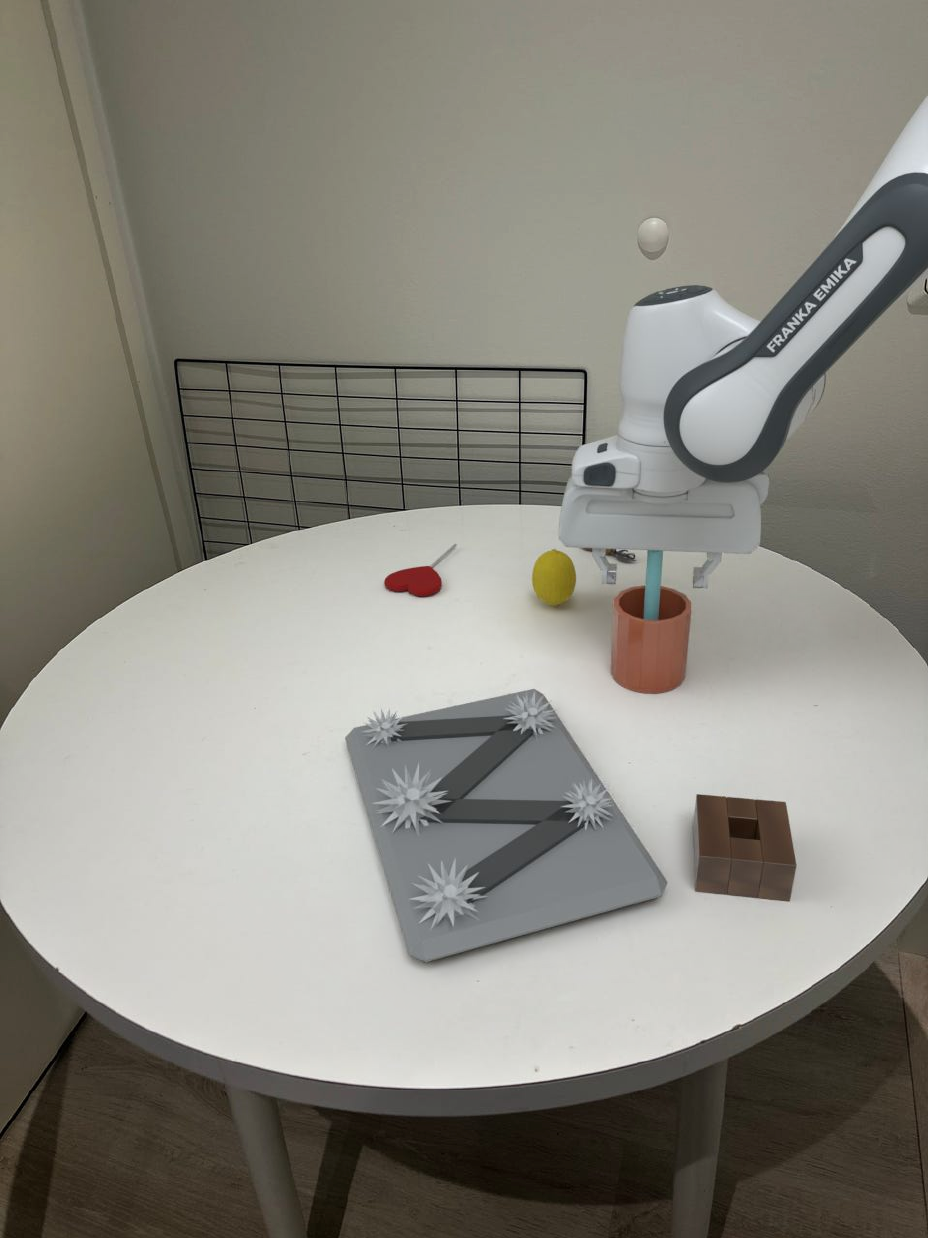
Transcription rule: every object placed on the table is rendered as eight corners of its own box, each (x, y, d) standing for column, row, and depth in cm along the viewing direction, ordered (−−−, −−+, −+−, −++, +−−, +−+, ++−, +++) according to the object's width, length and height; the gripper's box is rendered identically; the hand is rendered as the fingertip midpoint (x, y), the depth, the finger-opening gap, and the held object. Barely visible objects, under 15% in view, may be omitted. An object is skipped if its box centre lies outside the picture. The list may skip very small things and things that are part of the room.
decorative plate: (672, 904, 72) (678, 839, 69) (413, 977, 67) (405, 912, 64) (540, 700, 97) (539, 644, 94) (345, 743, 92) (336, 686, 89)
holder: (779, 836, 78) (785, 801, 76) (789, 901, 72) (796, 866, 70) (692, 828, 79) (696, 793, 77) (695, 891, 73) (699, 856, 71)
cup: (684, 655, 103) (690, 586, 99) (685, 696, 96) (692, 624, 92) (612, 650, 105) (615, 583, 100) (608, 691, 98) (611, 620, 93)
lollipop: (431, 543, 132) (378, 588, 121) (430, 537, 132) (377, 582, 120) (480, 552, 129) (431, 599, 117) (480, 546, 128) (430, 593, 117)
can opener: (578, 548, 128) (578, 541, 128) (588, 542, 130) (588, 535, 129) (632, 565, 123) (633, 558, 122) (641, 559, 124) (642, 552, 124)
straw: (654, 664, 101) (663, 545, 93) (654, 672, 100) (663, 551, 92) (640, 664, 101) (647, 544, 94) (640, 671, 100) (647, 551, 92)
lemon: (523, 605, 115) (522, 550, 111) (554, 591, 118) (554, 536, 114) (554, 621, 111) (554, 564, 107) (584, 605, 114) (585, 549, 110)
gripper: (769, 450, 89) (753, 574, 96) (562, 447, 93) (562, 566, 100) (775, 474, 83) (758, 603, 90) (556, 469, 87) (556, 593, 94)
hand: (653, 584), depth 95 cm, fingers open, 8 cm apart
